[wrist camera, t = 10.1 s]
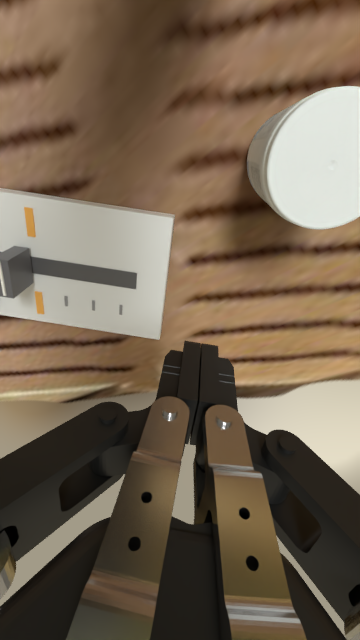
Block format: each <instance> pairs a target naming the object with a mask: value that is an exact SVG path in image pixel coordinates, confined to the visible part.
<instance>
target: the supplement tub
mask: <svg viewBox="0 0 360 640" xmlns="http://www.w3.org/2000/svg"><path fill="white" fill-rule="evenodd" d="M247 171H248V177H249V180H250V183H251V185H252V187H253V188H254V190H255V191H256V193H257V194H258V195H259V196H260V197H261V198H262V199H263V200H264V201H265V202H266V203H267V204H268V205H269V206H270V207H271V208H272V209H273V210H274V211H275V212H276V213H278V214H279V215H280V216H281V217H282V218H284V219H286V220H287V221H289V222H291V223H293V224H296V225H298V226H301V227H304V228H309V229H330V228H335V227H338V226H341V225H344V224H347V223H349V222H351V221H353V220H355V219H357V218H358V217H360V87H356V86H343V87H334V88H329V89H325V90H322V91H319V92H316V93H314V94H312V95H310V96H308V97H306V98H304V99H302V100H300V101H299V102H297V103H295V104H293V105H292V106H290V107H288V108H286V109H285V110H283V111H281V112H279V113H277V114H275V115H274V116H272V117H271V118H270V119H269V120H267V121H266V122H265V123H264V124H263V125H262V126H261V127H260V129H259V130H258V131H257V133H256V134H255V136H254V138H253V140H252V142H251V145H250V147H249V151H248V156H247Z"/></svg>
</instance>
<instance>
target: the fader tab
mask: <svg viewBox="0 0 360 640" xmlns="http://www.w3.org/2000/svg"><path fill="white" fill-rule="evenodd" d="M33 283H34V282H33V274H32V266H31V258H30V250H29V248H26V247H19V246H13V247H11V248H9V249H7V250H5V251H3V252H1V253H0V296H1V297H7V298H13V299H14V298H15V297H16V296H18V295H19V294H20V293H21V292H23V291H24V290H25V289H26V288H28V287H29V286H30V285H31V284H33Z"/></svg>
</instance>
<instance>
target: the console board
mask: <svg viewBox="0 0 360 640" xmlns="http://www.w3.org/2000/svg"><path fill="white" fill-rule="evenodd" d="M174 220H175V215H173V214H167V213H160V212H154V211H147V210H141V209H134V208H128V207H121V206H115V205H108V204H102V203H95V202H89V201H82V200H76V199H69V198H63V197H56V196H50V195H43V194H37V193H30V192H24V191H17V190H11V189H4V188H0V253H1V252H3V251H5V250H7V249H9V248H11V247H13V246H19V247H26V248H29V250H30V258H31V266H32V274H33V282H34V283H33V284H31V285H30V286H29V287H28V288H26V289H25V290H24V291H23V292H21V293H20V294H19V295H18V296H16V297H15V298H14V299H13V298H7V297H1V296H0V315H5V316H11V317H18V318H24V319H30V320H37V321H43V322H49V323H56V324H62V325H68V326H75V327H81V328H87V329H94V330H100V331H106V332H112V333H119V334H125V335H131V336H138V337H144V338H150V339H157V340H159V339H160V336H161V331H162V322H163V314H164V305H165V297H166V288H167V280H168V271H169V263H170V254H171V245H172V237H173V228H174Z"/></svg>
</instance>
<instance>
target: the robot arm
mask: <svg viewBox="0 0 360 640" xmlns="http://www.w3.org/2000/svg"><path fill="white" fill-rule="evenodd" d="M200 347H201V348H200ZM190 433H191V435H190ZM189 438H190V444H191V445H196V454H195V458H194V463H193V472H194V525H191V524H187V523H185V522H183V521H181V520H179V519H177V518H174V517H172V511H173V506H174V500H175V494H176V489H177V483H178V478H179V472H180V466H181V459H182V456H183V451H184V447H185V444H188V442H189ZM123 474H125V477H124V480H123V483H122V486H121V489H120V492H119V495H118V498H117V501H116V504H115V506H114V509H113V513H112V515H111V517H109V518H106V519H104V520H101V521H99V522H97V523H95V524H93V525H92V526H90V527H89V528H87V529H86V530H84V531H83V532H82V533H81V534H80V535H78V536H77V537H76V538H75V539H74V540H73V541H72V542H71V543H70V544H69V545H68V546H66V547H65V548H64V549H63V550H62V551H61V552H60V553H59V554H58V555H56V556H55V557H54V558H53V559H52V560H51V561H50V562H49V563H48V564H47V565H46V566H44V567H43V568H42V569H41V570H40V571H39V572H38V573H37V574H36V575H34V576H33V577H32V578H31V579H30V580H29V581H28V582H27V583H26V584H25V585H24V586H22V587H21V588H20V589H19V590H18V591H17V592H16V593H15V594H14V595H12V596H11V597H10V598H9V599H8V600H7V601H6V602H5V603H4V604H3V605H2V606H0V640H360V495H359V494H358V493H357V492H356V491H355V490H354V489H353V488H352V487H351V486H350V485H348V484H347V483H346V482H345V481H344V480H343V479H342V478H341V477H340V476H339V475H338V474H337V473H336V472H335V471H334V470H332V469H331V468H330V467H329V466H328V465H327V464H326V463H325V462H324V461H323V460H322V459H321V458H320V457H318V456H317V455H316V454H315V453H314V452H313V451H312V450H311V449H310V448H309V447H308V446H307V445H306V444H305V443H304V442H302V441H301V440H300V439H299V438H298V437H297V436H295V435H294V434H292V433H290V432H288V431H284V430H274V431H271V432H270V433H269V434H268V435H266V434H263V433H261V432H259V431H256V430H254V429H252V428H251V427H249V426H248V425H246V424H245V423H244V421H243V418H242V416H241V415H240V414H239V413H238V408H237V398H236V388H235V378H234V367H233V366H232V364H231V363H230V361H229V360H228V359H225V358H219V357H218V346H215V345H208V344H201V343H195V342H189V341H185V342H184V348H183V352H181V351H174V350H171V351H170V352H169V353H168V354H167V355H166V356H165V360H164V364H163V369H162V374H161V378H160V383H159V388H158V392H157V397H156V400H155V402H154V403H153V404H152V405H151V406H149V407H148V408H146V409H144V410H140V411H133V412H128V411H127V410H126V408H124V407H123V406H122V405H121V404H118V403H115V402H104V403H100V404H98V405H95V406H94V407H92V408H90V409H88V410H87V411H85V412H83V413H81V414H80V415H78V416H76V417H74V418H72V419H71V420H69V421H67V422H65V423H64V424H62V425H60V426H58V427H56V428H55V429H53V430H51V431H49V432H47V433H46V434H44V435H42V436H40V437H39V438H37V439H35V440H33V441H31V442H30V443H28V444H26V445H24V446H22V447H21V448H19V449H17V450H16V451H14V452H12V453H10V454H8V455H6V456H5V457H3V458H1V459H0V599H1V598H2V597H3V595H5V593H6V592H7V590H8V589H9V587H10V586H11V584H12V582H13V579H14V576H15V572H16V561H18V560H19V559H20V558H21V557H23V556H24V555H25V554H26V553H28V552H29V551H30V550H31V549H33V548H34V547H35V546H36V545H38V544H39V543H40V542H41V541H43V540H44V539H45V538H46V537H48V536H49V535H50V534H52V533H53V532H54V531H55V530H57V529H58V528H59V527H60V526H62V525H63V524H64V523H65V522H66V521H68V520H69V519H70V518H71V517H73V516H74V515H75V514H77V513H78V512H79V511H80V510H82V509H83V508H84V507H85V506H87V505H88V504H89V503H90V502H92V501H93V500H94V499H95V498H97V497H98V496H99V495H100V494H102V493H103V492H104V491H105V490H107V489H108V488H109V487H110V486H112V485H113V484H114V483H115V482H117V481H118V480H119V479H120V478H121V477H122V476H123ZM276 535H277V537H278V538H279V539H280V540H281V542H282V543H283V544H284V546H285V547H286V548H287V549H288V551H289V552H290V553H291V555H292V556H293V557H294V558H295V559H296V561H297V562H298V564H299V565H300V566H301V567H302V569H303V570H304V571H305V573H306V574H307V575H308V576H309V578H310V579H311V580H312V581H313V583H314V584H315V585H316V587H317V588H318V589H319V590H320V592H321V593H322V594H323V596H324V597H325V598H326V600H327V601H328V602H329V603H330V605H331V606H332V607H333V608H334V609H335V611H336V612H337V614H338V615H339V616H340V618H341V619H342V620H343V621H344V631H345V636H346V638H345V637H344V635H343V634H342V633H341V631H340V630H339V628H338V627H337V626H336V624H335V623H334V622H333V620H332V619H331V617H330V616H329V615H328V613H327V612H326V611H325V609H324V608H323V606H322V605H321V604H320V602H319V601H318V600H317V598H316V597H315V595H314V594H313V593H312V591H311V590H310V589H309V587H308V586H307V584H306V583H305V581H304V580H303V579H302V577H301V576H300V575H299V573H298V572H297V570H296V569H295V568H294V567H293V566H292V564H291V563H290V562H289V561H288V560H287V559H286V558H285V556H283V555H282V554H281V553H280V550H279V545H278V541H277V537H276Z"/></svg>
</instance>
